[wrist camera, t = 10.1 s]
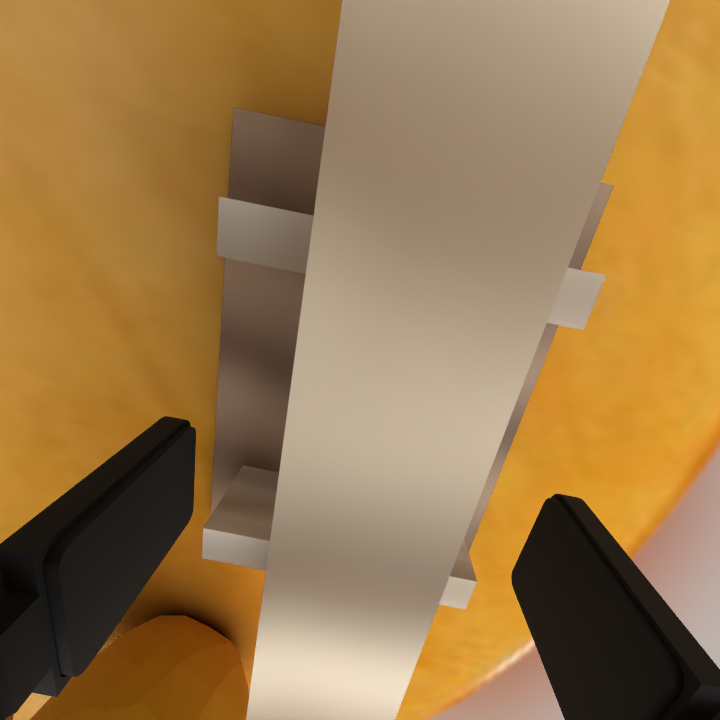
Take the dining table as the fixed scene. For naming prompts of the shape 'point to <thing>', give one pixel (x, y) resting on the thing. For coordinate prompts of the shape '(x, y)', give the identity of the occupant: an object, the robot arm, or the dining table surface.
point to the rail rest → (280, 330)
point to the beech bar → (425, 314)
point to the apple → (157, 677)
